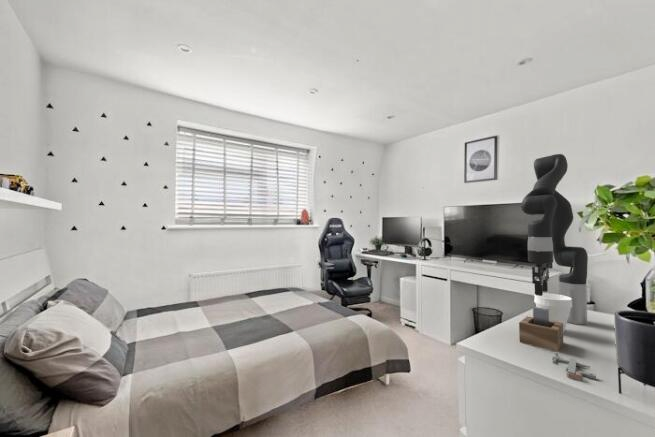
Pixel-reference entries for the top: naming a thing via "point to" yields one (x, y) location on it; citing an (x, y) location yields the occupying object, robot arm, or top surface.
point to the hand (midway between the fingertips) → (541, 293)
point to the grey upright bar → (541, 316)
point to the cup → (555, 306)
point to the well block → (541, 334)
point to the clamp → (574, 369)
